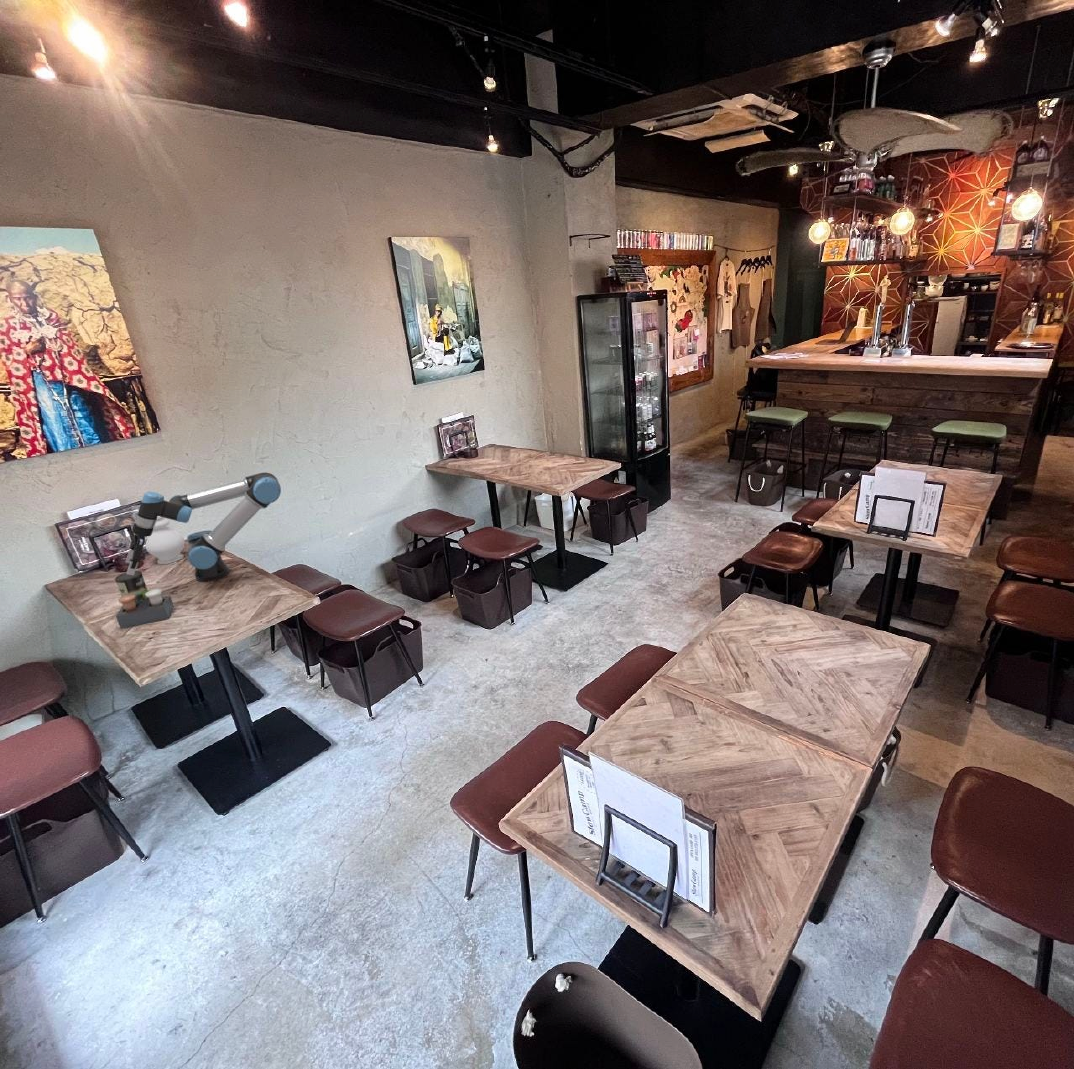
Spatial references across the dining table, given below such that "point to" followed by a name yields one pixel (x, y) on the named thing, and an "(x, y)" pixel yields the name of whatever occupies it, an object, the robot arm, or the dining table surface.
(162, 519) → the decorative vase
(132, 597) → the terracotta plunger
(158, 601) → the cream plunger
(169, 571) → the dining table surface
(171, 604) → the plunger block
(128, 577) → the coffee can
